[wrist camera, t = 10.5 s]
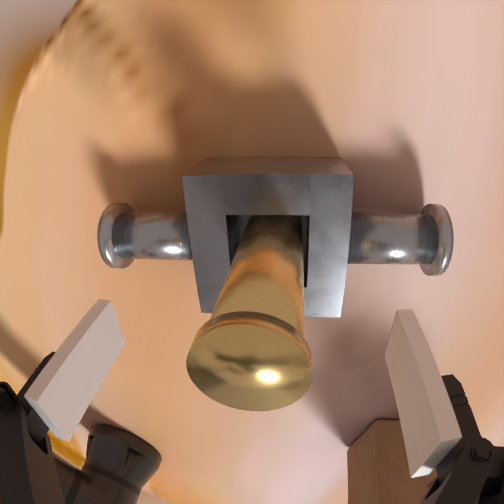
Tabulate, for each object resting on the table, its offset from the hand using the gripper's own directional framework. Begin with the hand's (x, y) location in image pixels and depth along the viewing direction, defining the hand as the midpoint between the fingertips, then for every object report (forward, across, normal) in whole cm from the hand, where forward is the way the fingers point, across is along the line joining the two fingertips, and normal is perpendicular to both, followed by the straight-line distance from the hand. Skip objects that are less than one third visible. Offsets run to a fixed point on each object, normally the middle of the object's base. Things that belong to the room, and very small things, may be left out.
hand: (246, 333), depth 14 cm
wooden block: (+13, +17, -32) cm, 39 cm away
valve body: (+13, 0, 0) cm, 13 cm away
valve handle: (+11, +1, 0) cm, 11 cm away
